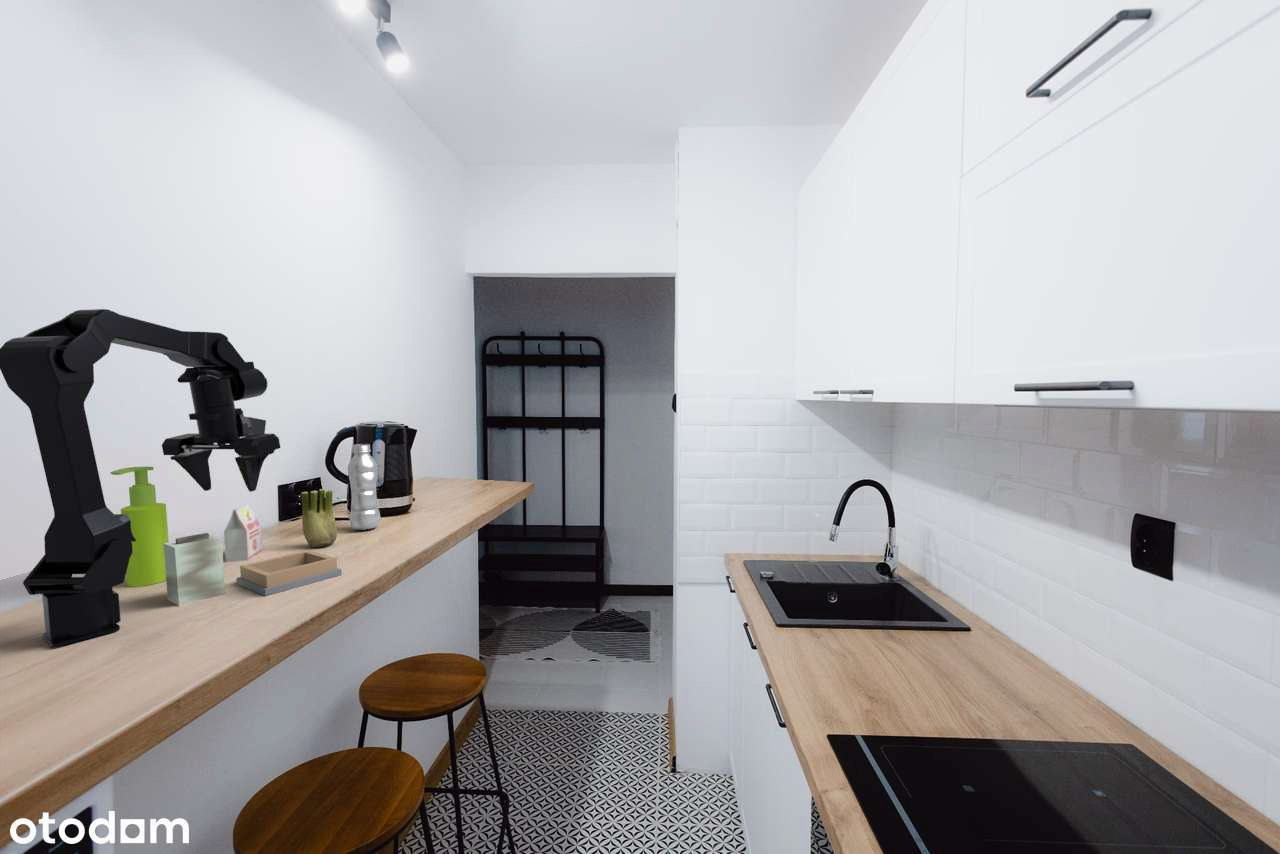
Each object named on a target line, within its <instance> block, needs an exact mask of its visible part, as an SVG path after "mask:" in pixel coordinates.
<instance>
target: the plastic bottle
mask: <svg viewBox="0 0 1280 854" xmlns="http://www.w3.org/2000/svg"><path fill="white" fill-rule="evenodd" d="M371 452H372V451H371V444H369V443H359V444H352V454H353V456H352V458H351V460H350V461H349V462H348V464H347V474H348V480H349V484H350V491H351V492H350V494H351V495H350V496H351V503H350V504H351V505H350V513H349V523H350V527H351V528H352V529H353V530H357V531H367V530H366V529H368V530H371V529H374V528H377V527H378V526H379V524H380V522H381V514H380V513H381V512H380V509H379V505H378V497H377V496H378V495H377V480H378V479H377V477H378V470H379V468H378V467H379V466H378V464H377V461H376V460H375V458H374V457H373V456H372V455H371V454H370V453H371Z"/></svg>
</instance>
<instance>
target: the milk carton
mask: <svg viewBox="0 0 1280 854" xmlns="http://www.w3.org/2000/svg"><path fill="white" fill-rule="evenodd" d="M223 536H224V537H223V539H224V552H225V562H226V563H230V562H243V561H249V560H250V559H252V558H253V557H254V556H257V555H258V554H259V553H261V552H262V551H263V547H262V546H263V545H262V534H261V522H260V520H259V519H258V517H257V516H256V514H255V512H254V511H253V509H252V506H251V503H247V504H243V505H241V506H239V507H236V508H235V509H232V513H231V516H230V518H229V521H228V522H227V524H226V527H225V529H224V531H223Z"/></svg>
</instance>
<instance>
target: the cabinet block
mask: <svg viewBox="0 0 1280 854" xmlns="http://www.w3.org/2000/svg"><path fill="white" fill-rule="evenodd" d="M223 553H224V552H223V540H222V538H221V537H217V536H214V535H211V534H210V533H208V532H204V533H199V534H198V533H197V534H192V535H187V536H182V537H176V538H175V540H174V541H169V542H168V543H164V556H165V569H166V581H165V582H166V594H167V600H168V601H169V600H170V602H171V603H173V604H175V605H176V606H179V607H180V606H184V605H189V604H192V603H196V602H200V601H204V600H207V599H210V598H214V597H215V598H216V597H219V596H222V595H223V596H224V595H226V586H225V585H226V583H225V571H224V570H225V568H224V556H223V555H224V554H223Z"/></svg>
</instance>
